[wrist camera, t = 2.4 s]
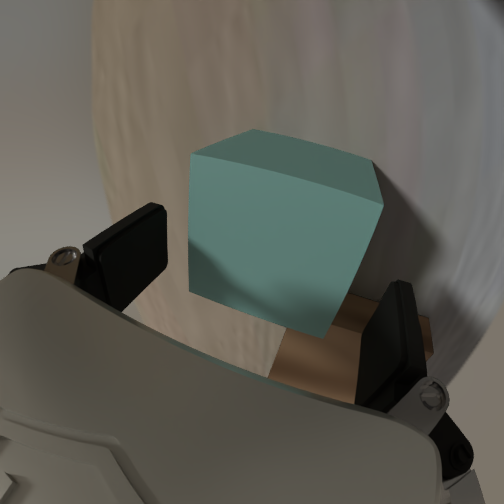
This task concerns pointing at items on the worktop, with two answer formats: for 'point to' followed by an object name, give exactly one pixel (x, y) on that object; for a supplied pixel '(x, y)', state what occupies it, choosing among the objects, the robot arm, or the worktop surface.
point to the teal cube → (279, 226)
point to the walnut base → (332, 352)
